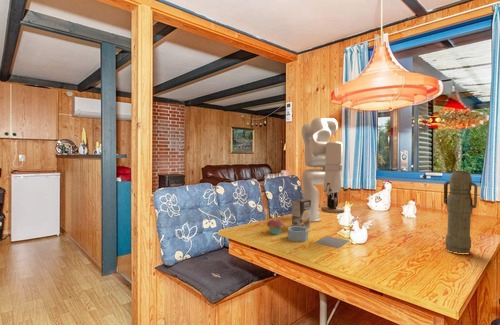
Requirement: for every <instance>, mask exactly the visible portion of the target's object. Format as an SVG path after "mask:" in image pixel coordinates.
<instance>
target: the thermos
mask: <svg viewBox="0 0 500 325" xmlns="http://www.w3.org/2000/svg"><path fill="white" fill-rule="evenodd" d="M472 180H473V179H472V175H471V173H470V172H469V171H467V170H466V171H465V170H454V171H452V172H451V173H450V177H449V180H448V181H446V182H445V183H444V184H443V203H444V205H446V211H447V230H446V231H447V232H446V235H445V250H446V249H447V250H449V251H452V252H457V253H469V252H470V253H471V248H472V239H471V219H472V218H471V216H472V213H473V209H476V208H477V204H478V185H477V184H476V183H475V182H473V181H472ZM472 186H473V187H474V191H473V198H472V193H471V192H472ZM448 187H449V188H448Z"/></svg>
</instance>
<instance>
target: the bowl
mask: <svg viewBox="0 0 500 325" xmlns="http://www.w3.org/2000/svg"><path fill="white" fill-rule="evenodd" d="M287 239H288V240H290V241H291V242H292V241H293V242H306V241H308V240H309V228H308V229H307V228H305V227H300V226H293V227H292V226H289V227H287Z"/></svg>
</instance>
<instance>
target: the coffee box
mask: <svg viewBox="0 0 500 325" xmlns="http://www.w3.org/2000/svg"><path fill="white" fill-rule="evenodd" d="M291 203H292V204H291V205H292V206H291V207H292V208H291V227H293V226H300V227H305V228H307V229H308V230H309V229H310V228H311V222H310V217H311V200H308V199H303V198H298V199H297V198H296V199H292V202H291Z"/></svg>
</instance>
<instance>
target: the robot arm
mask: <svg viewBox="0 0 500 325" xmlns="http://www.w3.org/2000/svg"><path fill="white" fill-rule="evenodd" d="M338 127H339V126H338V121H337V119H335V117H334V118H333V117H316V118H314V119H312V120H311V121H310V123H305V124H304V125H303V126H302V127H301V136H302V140H303V143H304V164H305V166H306V167H308V168H309V169H304V170H303V171H302V174H301V179H302V188H303V189H302V191H303V192H302V194H303V195H302V199H308V200H311V217H310V223H311V222H319V221H321V220H322V218H321V217H320V216H319V215H320V214H321V212H320V211H319V201H320V199H319V197H320V196H319V195H320V192H319V190H318V188H317V187H316V186H317V185H318V186H319V185H321V186H323V192H324V193H325V195H326V199H327V200H326V203H327V204H326V206H327V207H328V208H334V197H335V198H337V201H336V207H339V206H338V205H339V193H340V192H341V190H342V188H341V187H342V174H341V173H342V171H343V169H342V168H343V166H342V165H343V143H342V142H341V141H329V139H331V137H332V136H333V135H334V134H336V132H337V131H338ZM311 168H312V169H311ZM313 168H314V169H313ZM316 168H322V169H316ZM315 185H316V186H315Z"/></svg>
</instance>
